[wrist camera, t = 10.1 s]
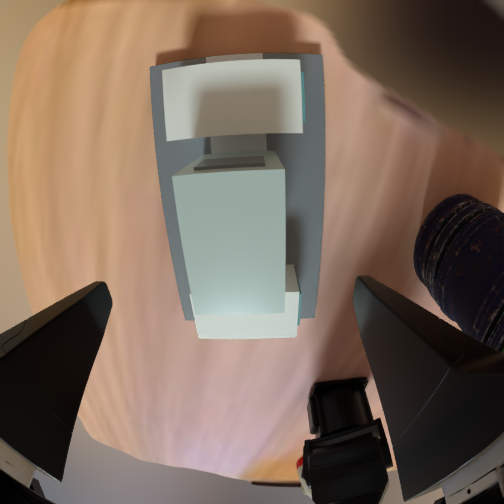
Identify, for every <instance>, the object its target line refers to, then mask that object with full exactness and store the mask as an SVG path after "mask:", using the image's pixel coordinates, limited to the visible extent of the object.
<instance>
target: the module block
mask: <svg viewBox="0 0 504 504" xmlns="http://www.w3.org/2000/svg"><path fill="white" fill-rule="evenodd" d="M172 180H173V188H174V195H175V203H176V210H177V216H178V223H179V229H180V236H181V242H182V248H183V253H184V259H185V265H186V270H187V275H188V281H189V286H190V291H191V296H192V301H193V306H194V310H195V315H240V314H275V313H285V259H286V208H285V168H284V167H283V165H282V163H281V161H280V159H279V158H278V156H277V154H276V152H275V150H268V151H244V152H227V153H214V154H203V155H202V156H200V157H199V158H197V159H196V160H194V161H193V162H192V163H190V164H189V165H187V166H186V167H184V168H183V169H182V170H180V171H179V172H177V173H176V174H175V175H173V176H172Z"/></svg>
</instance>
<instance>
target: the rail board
mask: <svg viewBox="0 0 504 504" xmlns="http://www.w3.org/2000/svg"><path fill="white" fill-rule="evenodd" d="M150 84H151V102H152V116H153V128H154V139H155V149H156V158H157V166H158V175H159V182H160V190H161V197H162V203H163V210H164V216H165V223H166V229H167V234H168V240H169V246H170V251H171V256H172V261H173V266H174V271H175V276H176V281H177V286H178V290H179V295H180V299H181V304H182V308H183V312H184V317H185V320H195V324H196V328H197V332H198V337H199V339H265V338H291V337H296V335H297V325H299V324H300V319H301V318H315V310H316V301H317V292H318V281H319V270H320V258H321V244H322V228H323V209H324V182H325V101H324V76H323V59H322V55H317V54H300V53H249V54H233V55H221V56H211V57H204V58H196V59H190V60H183V61H177V62H172V63H166V64H161V65H156V66H152V67H150ZM268 150H275V152H276V154H277V156H278V158H279V159H280V161H281V163H282V165H283V167H284V168H285V208H286V259H285V313H275V314H240V315H195V310H194V306H193V301H192V296H191V291H190V286H189V281H188V275H187V270H186V265H185V259H184V253H183V248H182V242H181V236H180V229H179V223H178V216H177V210H176V203H175V195H174V188H173V180H172V176H173V175H175V174H176V173H177V172H179V171H180V170H182V169H183V168H184V167H186V166H187V165H189V164H190V163H192V162H193V161H194V160H196V159H197V158H199V157H200V156H202V155H203V154H214V153H227V152H244V151H268Z"/></svg>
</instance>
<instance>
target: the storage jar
mask: <svg viewBox="0 0 504 504" xmlns="http://www.w3.org/2000/svg"><path fill="white" fill-rule="evenodd" d="M414 268H415V271H416V274H417V276H418V278H419V279H420V280H421V282H422V283H423V284H424V285H425V286H426V287H427V289H428V291H429V293H430V295H431V296H432V298H433V299H434V300H435V302H436V303H437V304H438V305H439V307H440V309H441V311H442V312H443V313H444V314H445V315H446V316H448V318H449V319H451V320H452V321H455V322H456V323H457V324H458V326H459V327H460V328H461V330H462V331H463V332H464V333H466V334H468V335H470V336H471V337H473V338H475V339H477V340H479V341H481V342H483V343H484V344H486V345H488V346H490V347H492V348H494V349H496V350H497V351H500V352H502V353H504V213H502V212H501V211H500V210H498V209H497V208H495V207H493V206H491V205H490V204H487V203H483V202H482V201H479V200H478V199H476V198H474V197H472V196H470V195H467V194H457V195H453V196H450V197H448V198H446V199H445V200H443V201H442V202H440V203H439V204H438V205H437V206H436V207H435V208H434V209H433V210H432V211H431V212H430V214H429V215H428V216H427V218H426V219H425V221H424V223H423V225H422V226H421V228H420V231H419V233H418V236H417V239H416V243H415V247H414Z"/></svg>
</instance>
